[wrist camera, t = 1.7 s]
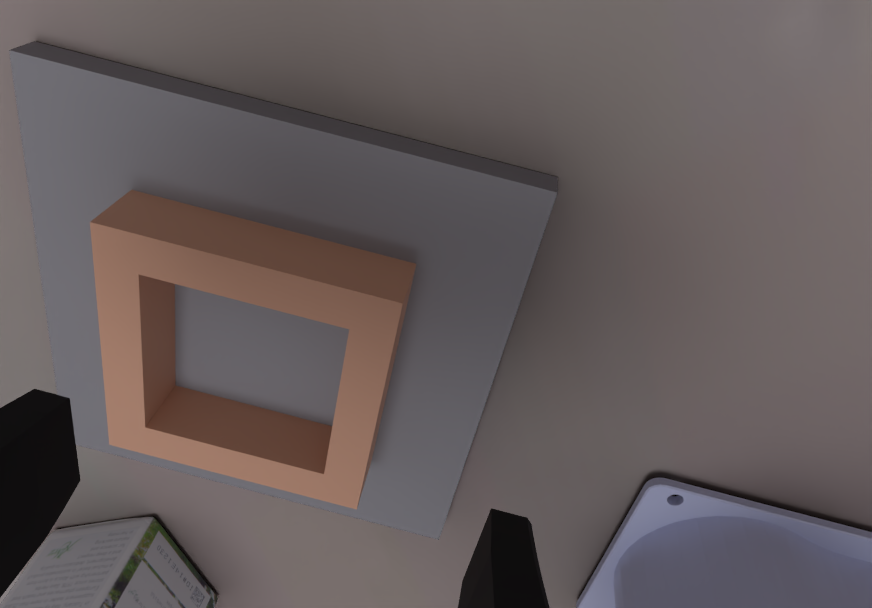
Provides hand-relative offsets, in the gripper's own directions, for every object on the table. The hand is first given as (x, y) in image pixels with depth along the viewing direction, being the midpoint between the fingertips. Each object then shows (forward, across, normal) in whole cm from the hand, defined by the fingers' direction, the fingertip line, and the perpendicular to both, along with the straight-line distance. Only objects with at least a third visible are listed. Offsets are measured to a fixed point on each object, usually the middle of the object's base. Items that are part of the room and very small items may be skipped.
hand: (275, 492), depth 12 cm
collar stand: (+9, +3, +4) cm, 11 cm away
